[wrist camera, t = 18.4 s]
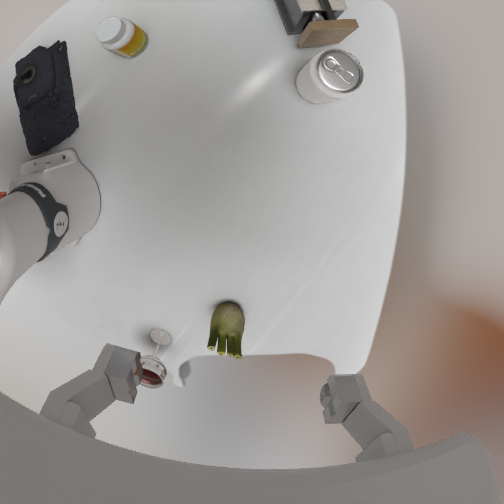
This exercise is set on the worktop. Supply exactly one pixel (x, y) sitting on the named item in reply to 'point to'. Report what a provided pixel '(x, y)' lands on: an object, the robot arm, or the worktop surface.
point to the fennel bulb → (227, 330)
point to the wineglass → (155, 362)
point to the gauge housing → (304, 12)
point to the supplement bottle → (121, 37)
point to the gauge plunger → (326, 28)
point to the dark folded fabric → (45, 97)
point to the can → (329, 76)
